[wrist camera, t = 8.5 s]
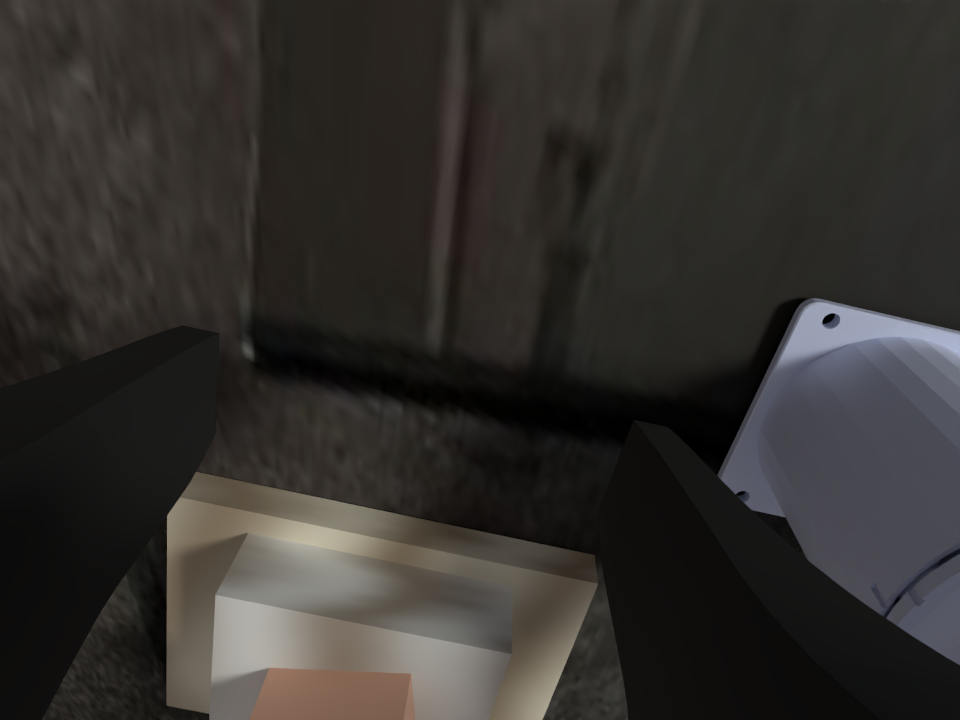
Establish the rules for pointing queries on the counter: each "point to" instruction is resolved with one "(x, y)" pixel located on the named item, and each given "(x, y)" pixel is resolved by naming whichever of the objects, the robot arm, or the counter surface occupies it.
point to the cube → (334, 695)
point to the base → (370, 533)
